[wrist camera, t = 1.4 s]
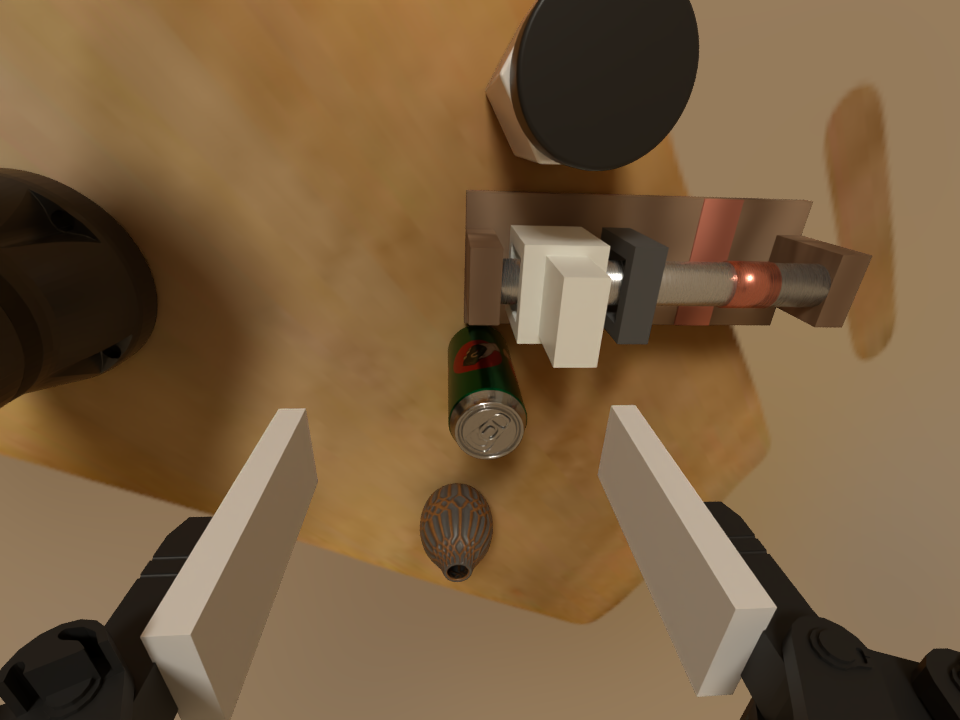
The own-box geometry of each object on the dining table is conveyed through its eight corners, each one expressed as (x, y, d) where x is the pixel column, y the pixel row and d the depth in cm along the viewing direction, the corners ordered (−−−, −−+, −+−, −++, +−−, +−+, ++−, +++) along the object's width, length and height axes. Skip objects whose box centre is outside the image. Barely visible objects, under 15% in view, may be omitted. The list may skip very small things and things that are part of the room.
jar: (561, 187, 33) (616, 213, 22) (465, 122, 31) (476, 115, 20) (640, 64, 30) (748, 25, 19) (540, -19, 27) (600, -118, 17)
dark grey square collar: (589, 310, 34) (617, 343, 29) (602, 227, 31) (635, 246, 26) (615, 310, 34) (647, 344, 29) (630, 227, 32) (668, 247, 26)
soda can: (435, 352, 38) (431, 437, 28) (474, 310, 37) (486, 382, 26) (479, 385, 40) (492, 477, 29) (518, 346, 38) (546, 427, 28)
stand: (464, 318, 37) (467, 359, 30) (466, 190, 32) (471, 204, 26) (762, 320, 39) (828, 359, 32) (803, 199, 34) (889, 215, 28)
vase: (459, 532, 48) (462, 609, 40) (408, 502, 46) (400, 578, 38) (503, 493, 46) (514, 567, 38) (451, 460, 44) (452, 531, 36)
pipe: (481, 296, 32) (484, 312, 29) (482, 251, 30) (486, 263, 27) (801, 300, 33) (834, 315, 31) (817, 257, 32) (853, 269, 29)
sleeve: (505, 309, 34) (528, 377, 24) (510, 225, 31) (539, 264, 22) (570, 310, 34) (617, 377, 25) (581, 226, 31) (639, 266, 22)
